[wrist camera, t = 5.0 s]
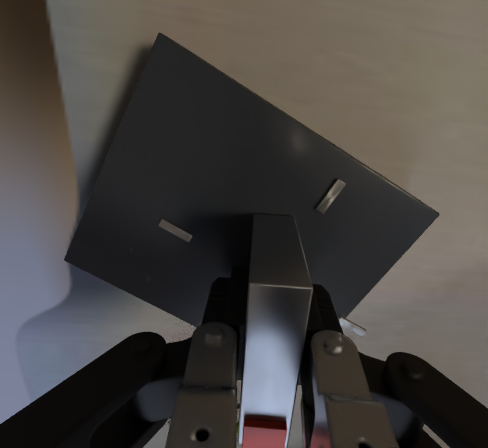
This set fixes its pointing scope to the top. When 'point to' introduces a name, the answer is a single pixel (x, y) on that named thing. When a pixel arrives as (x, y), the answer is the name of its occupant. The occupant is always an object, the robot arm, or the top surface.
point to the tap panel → (231, 194)
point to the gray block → (273, 332)
